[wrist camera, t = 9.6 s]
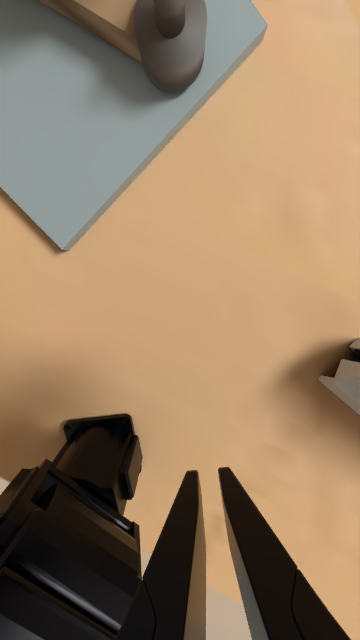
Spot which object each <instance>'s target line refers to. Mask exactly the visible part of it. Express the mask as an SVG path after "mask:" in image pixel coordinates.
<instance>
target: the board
mask: <svg viewBox="0 0 360 640" xmlns="http://www.w3.org/2000/svg"><path fill="white" fill-rule="evenodd" d="M204 1H205V4H206V9H207V29H206V40H205V51H204V60H203V65H202V69H201V71H200V73H199V75H198V77H197V79H196V80H195V81H194V82H193V84H191V85H190V86H189V87H188V88H186V89H184V90H182V91H179V92H165V91H162V90H160V89H158V88H157V87H155V86H154V85H153V84H152V83H151V82H150V80H149V79H148V78H147V76H146V74H145V72H144V69H143V66H142V63H141V62H139V61H138V60H136V59H135V58H133V57H131V56H130V55H128V54H126V53H125V52H123V51H121V50H120V49H118V48H116V47H115V46H113V45H111V44H110V43H108V42H107V41H105V40H103V39H102V38H100V37H98V36H97V35H95V34H93V33H92V32H90V31H88V30H87V29H85V28H83V27H82V26H80V25H79V24H77V23H75V22H74V21H72V20H70V19H69V18H67V17H65V16H64V15H62V14H60V13H59V12H57V11H55V10H54V9H52V8H50V7H49V6H47V5H46V4H44V3H42V2H41V1H39V0H0V187H1V188H2V189H3V190H4V191H5V192H6V193H7V194H8V195H9V196H10V198H11V199H12V200H13V201H14V202H15V203H16V204H17V205H18V206H19V207H20V208H21V209H22V210H23V211H24V212H25V213H26V214H27V215H28V216H29V217H30V218H31V219H32V220H33V221H34V222H35V223H36V224H37V225H38V226H39V227H40V228H41V229H42V230H43V231H44V232H45V233H46V234H47V235H48V236H49V237H50V238H51V239H52V240H53V241H54V242H55V243H56V244H57V245H58V246H59V247H60V248H61V249H62V250H67V251H69V250H70V249H71V248H72V246H73V245H74V244H75V243H76V242H77V241H78V240H79V239H80V238H81V237H82V236H83V235H84V233H85V232H86V231H87V230H88V229H89V228H90V227H91V226H92V225H93V224H94V223H95V222H96V220H97V219H98V218H99V217H100V216H101V215H102V214H103V213H104V212H105V211H106V210H107V209H108V207H109V206H110V205H111V204H112V203H113V202H114V201H115V200H116V199H117V198H118V197H119V196H120V194H121V193H122V192H123V191H124V190H125V189H126V188H127V187H128V186H129V185H130V184H131V183H132V181H133V180H134V179H135V178H136V177H137V176H138V175H139V174H140V173H141V172H142V171H143V170H144V168H145V167H146V166H147V165H148V164H149V163H150V162H151V161H152V160H153V159H154V158H155V157H156V155H157V154H158V153H159V152H160V151H161V150H162V149H163V148H164V147H165V146H166V145H167V144H168V142H169V141H170V140H171V139H172V138H173V137H174V136H175V135H176V134H177V133H178V132H179V131H180V129H181V128H182V127H183V126H184V125H185V124H186V123H187V122H188V121H189V120H190V119H191V118H192V116H193V115H194V114H195V113H196V112H197V111H198V110H199V109H200V108H201V107H202V106H203V105H204V103H205V102H206V101H207V100H208V99H209V98H210V97H211V96H212V95H213V94H214V93H215V92H216V90H217V89H218V88H219V87H220V86H221V85H222V84H223V83H224V82H225V81H226V80H227V79H228V77H229V76H230V75H231V74H232V73H233V72H234V71H235V70H236V69H237V68H238V67H239V66H240V64H241V63H242V62H243V61H244V60H245V59H246V58H247V57H248V56H249V55H250V54H251V53H252V51H253V50H254V49H255V48H256V47H257V46H258V45H259V44H260V43H261V42H262V40H263V37H264V34H265V31H266V28H267V26H268V25H267V23H266V22H265V20H264V19H263V17H262V16H261V14H260V13H259V11H258V10H257V8H256V7H255V6H254V4H253V3H252V1H251V0H204Z"/></svg>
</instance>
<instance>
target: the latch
mask: <svg viewBox="0 0 360 640" xmlns="http://www.w3.org/2000/svg"><path fill="white" fill-rule="evenodd" d="M39 1H41V2H42V3H44V4H46V5H47V6H49V7H50V8H52V9H54V10H55V11H57V12H59V13H60V14H62V15H64V16H65V17H67V18H69V19H70V20H72V21H74V22H75V23H77V24H79V25H80V26H82V27H83V28H85V29H87V30H88V31H90V32H92V33H93V34H95V35H97V36H98V37H100V38H102V39H103V40H105V41H107V42H108V43H110V44H111V45H113V46H115V47H116V48H118V49H120V50H121V51H123V52H125V53H126V54H128V55H130V56H131V57H133V58H135V59H136V60H138V61H139V62H141V63H142V66H143V69H144V72H145V74H146V76H147V78H148V79H149V80H150V82H151V83H152V84H153V85H154V86H155V87H157V88H158V89H160V90H162V91H165V92H179V91H182V90H184V89H186V88H188V87H189V86H190V85H191V84H193V82H194V81H195V80H196V79H197V77H198V75H199V73H200V71H201V69H202V65H203V60H204V51H205V40H206V29H207V9H206V4H205V1H204V0H39Z"/></svg>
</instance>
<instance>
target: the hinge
mask: <svg viewBox="0 0 360 640" xmlns="http://www.w3.org/2000/svg"><path fill="white" fill-rule="evenodd" d="M349 347H350V348H351V349H352V350H353V352H352V353H353V354H354V355H355V356H356V357H357V358H358V359H355V358H349V359H348V360H344V359H342V360H341V362H340V365H339V367H338V370H337V372H336V375H335V377H334V378H331V377H327V376H322V375H321V376H320V377H319V378H318V380H319V381H320V382H321V383H322V384H323V385H324V386H326V387H327V388H328V389H329V390H330V391H331V392H333V393H334V394H335V395H336V396H337V397H338V398H340V399H341V400H342V401H343V402H344V403H346V404H347V405H348V406H349V407H350V408H351V409H353V410H354V411H355V412H356V413H357V414H358V415H360V338H359V339H357V340H355V341H354V342H353V343H352V344H351V345H350V346H349Z"/></svg>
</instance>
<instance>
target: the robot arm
mask: <svg viewBox="0 0 360 640" xmlns="http://www.w3.org/2000/svg"><path fill="white" fill-rule="evenodd" d="M124 419H127V420H128V421H125V420H124ZM68 425H69V426H71V427H69V426H68ZM64 432H65V435H66V439H67V442H66V443H65V445H64V446H63V447H62V449H61V450H60V452H59V453H58V455H57V456H56V458H55V459H54V461H53V462H51V461H49V460H48V459H45V460H44V461H43V462H42V463H41V464H40V465H39V467H37V466H36V467H35V468H33V469H22V470H21V471H20V472H19V473H18V474H17V475H16V476H15V478H14V479H13V480H12V481H11V483H10V484H9V485H8V486H7V487H6V489H5V490H4V491H3V492H2V494H1V495H0V640H206V543H205V530H204V519H203V508H202V496H201V487H200V481H199V474H198V471H197V470H191V471H187V472H186V474H185V476H184V479H183V481H182V484H181V486H180V488H179V491H178V493H177V496H176V498H175V500H174V503H173V505H172V508H171V510H170V512H169V515H168V517H167V520H166V522H165V524H164V527H163V529H162V532H161V534H160V536H159V539H158V541H157V544H156V546H155V548H154V551H153V553H152V556H151V558H150V560H149V563H148V565H147V568H146V570H145V572H144V575H143V578H142V576H141V555H140V534H139V525H138V524H136V523H135V522H131V521H129V520H128V519H127V518H125V517H124V516H123V514H124V510H125V506H126V502H127V500H131V499H132V498H133V497H134V494H135V489H136V485H137V480H138V476H139V473H140V472H141V468H142V466H141V463H142V453H141V448H140V443H139V438H138V436H137V435H135V432H134V427H133V422H132V418H131V416H130V415H128V414H123V415H114V416H105V417H96V418H87V419H78V420H69V421H67V422H66V423H65V425H64ZM218 473H219V481H220V488H221V495H222V502H223V508H224V515H225V522H226V528H227V535H228V541H229V546H230V551H231V555H232V560H233V564H234V568H235V572H236V576H237V580H238V584H239V588H240V592H241V596H242V600H243V604H244V608H245V612H246V617H247V620H248V625H249V629H250V633H251V637H252V640H351V639H350V638H349V637H348V635H347V634H346V633H345V631H344V630H343V629H342V628H341V626H340V625H339V624H338V622H337V621H336V620H335V619H334V617H333V616H332V615H331V613H330V612H329V611H328V609H327V608H326V607H325V605H324V604H323V602H322V601H321V600H320V598H319V597H318V595H317V594H316V593H315V591H314V590H313V588H312V587H311V586H310V584H309V583H308V581H307V580H306V578H305V577H304V575H303V574H302V572H301V571H300V570H299V569H297V565H296V564H295V563H294V561H293V560H292V558H291V557H290V555H289V554H288V552H287V551H286V549H285V548H284V546H283V545H282V544H281V542H280V541H279V539H278V538H277V536H276V535H275V533H274V532H273V530H272V529H271V527H270V526H269V525H268V523H267V522H266V520H265V519H264V517H263V516H262V514H261V513H260V511H259V510H258V508H257V507H256V506H255V504H254V503H253V501H252V500H251V498H250V497H249V495H248V494H247V492H246V491H245V490H244V488H243V487H242V485H241V484H240V482H239V481H238V479H237V478H236V476H235V475H234V473H233V472H232V471H231V469H230V468H229V467H222V468H219V469H218ZM142 579H143V580H142Z"/></svg>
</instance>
